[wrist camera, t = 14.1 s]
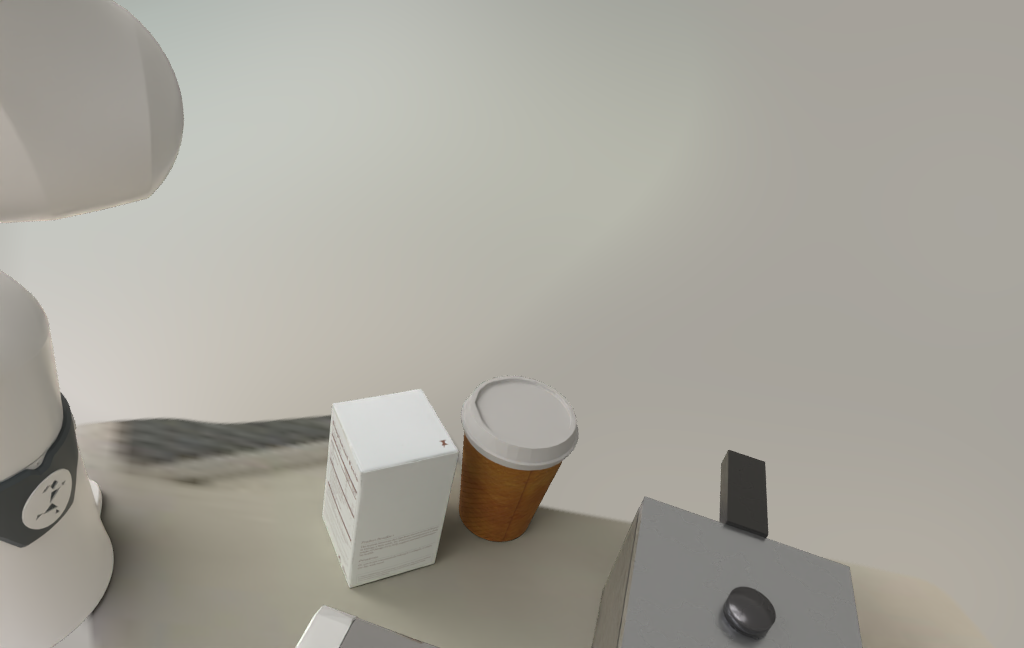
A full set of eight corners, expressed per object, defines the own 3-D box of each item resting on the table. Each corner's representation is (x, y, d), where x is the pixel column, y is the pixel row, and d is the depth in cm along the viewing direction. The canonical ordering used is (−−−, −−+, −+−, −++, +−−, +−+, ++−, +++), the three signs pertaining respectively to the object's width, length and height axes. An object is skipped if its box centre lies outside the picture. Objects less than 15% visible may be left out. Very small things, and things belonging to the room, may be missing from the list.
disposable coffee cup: (456, 461, 70) (479, 359, 63) (555, 491, 69) (588, 391, 63) (426, 537, 62) (449, 430, 55) (537, 572, 61) (573, 468, 55)
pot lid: (610, 690, 43) (621, 669, 42) (650, 440, 62) (658, 420, 61) (872, 789, 41) (892, 769, 40) (830, 500, 60) (842, 481, 59)
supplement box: (404, 498, 65) (424, 385, 58) (436, 566, 60) (463, 451, 53) (319, 517, 61) (330, 399, 54) (345, 591, 56) (361, 472, 49)
